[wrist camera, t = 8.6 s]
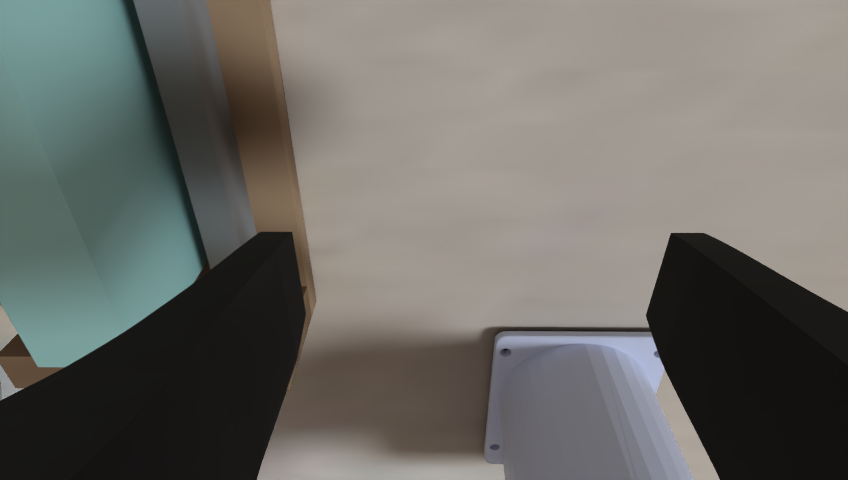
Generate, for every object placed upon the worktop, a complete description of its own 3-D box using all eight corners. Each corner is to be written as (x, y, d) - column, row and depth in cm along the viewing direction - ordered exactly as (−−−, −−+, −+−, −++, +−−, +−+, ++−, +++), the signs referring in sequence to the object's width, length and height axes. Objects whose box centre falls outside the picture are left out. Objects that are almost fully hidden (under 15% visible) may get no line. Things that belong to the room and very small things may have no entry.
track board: (316, 300, 23) (289, 390, 18) (92, 299, 23) (15, 388, 19) (221, -312, 12) (112, -426, 8) (-187, -307, 12) (-503, -416, 8)
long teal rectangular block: (212, 252, 20) (139, 368, 15) (136, 252, 20) (38, 367, 15) (109, -121, 14) (-83, -140, 8) (-3, -121, 14) (-260, -139, 9)
